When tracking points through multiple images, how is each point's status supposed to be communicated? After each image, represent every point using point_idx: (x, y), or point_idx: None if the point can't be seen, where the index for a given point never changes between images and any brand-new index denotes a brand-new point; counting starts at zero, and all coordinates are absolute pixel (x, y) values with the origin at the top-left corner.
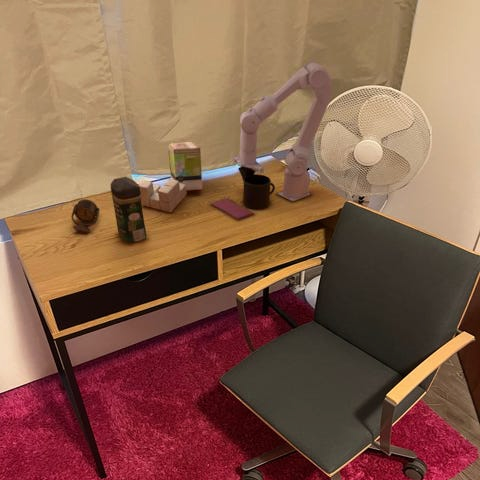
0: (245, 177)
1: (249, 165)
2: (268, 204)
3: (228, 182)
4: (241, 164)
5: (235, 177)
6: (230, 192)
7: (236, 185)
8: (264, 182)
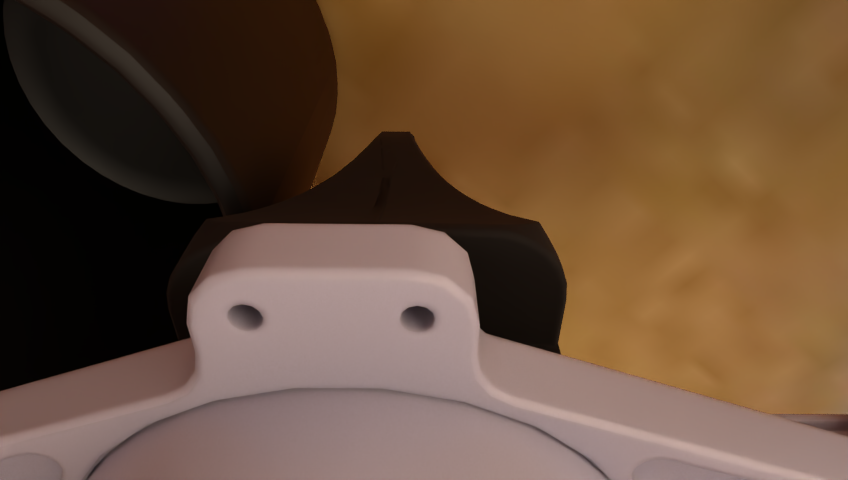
0: (173, 128)
1: (63, 470)
2: (40, 147)
3: (844, 199)
4: (246, 330)
5: (840, 321)
6: (649, 33)
7: (713, 215)
8: (137, 345)
